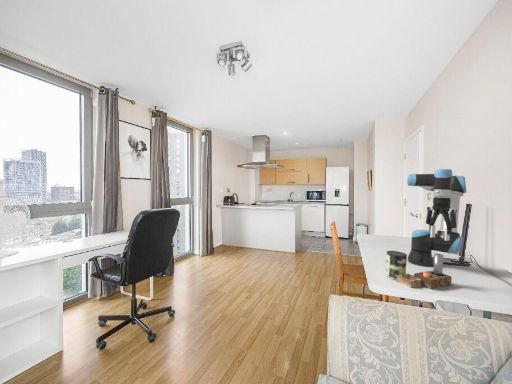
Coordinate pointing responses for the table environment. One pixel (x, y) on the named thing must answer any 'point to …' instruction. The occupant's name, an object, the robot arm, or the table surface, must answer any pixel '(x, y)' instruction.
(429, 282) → the socket block
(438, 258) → the peg
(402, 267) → the coffee can
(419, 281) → the open wooden tray
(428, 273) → the button
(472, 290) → the table surface
